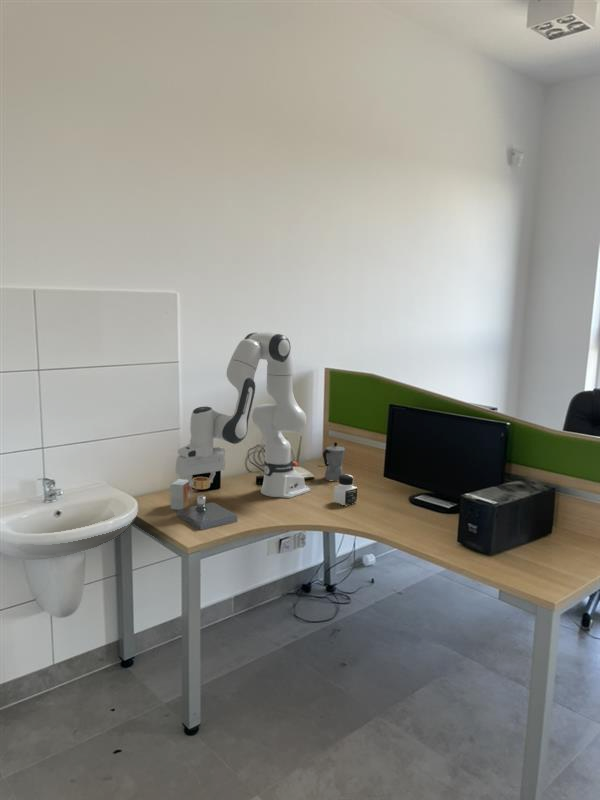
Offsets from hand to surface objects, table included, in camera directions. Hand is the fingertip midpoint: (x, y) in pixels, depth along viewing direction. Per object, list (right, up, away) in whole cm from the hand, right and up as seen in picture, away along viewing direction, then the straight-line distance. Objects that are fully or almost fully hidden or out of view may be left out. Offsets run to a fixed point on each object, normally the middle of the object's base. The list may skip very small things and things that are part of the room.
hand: (200, 484), depth 234 cm
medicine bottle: (+57, -11, +23) cm, 63 cm away
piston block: (+3, -13, -1) cm, 13 cm away
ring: (0, -1, 0) cm, 1 cm away
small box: (-10, -11, +11) cm, 18 cm away
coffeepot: (+54, -6, +57) cm, 79 cm away
